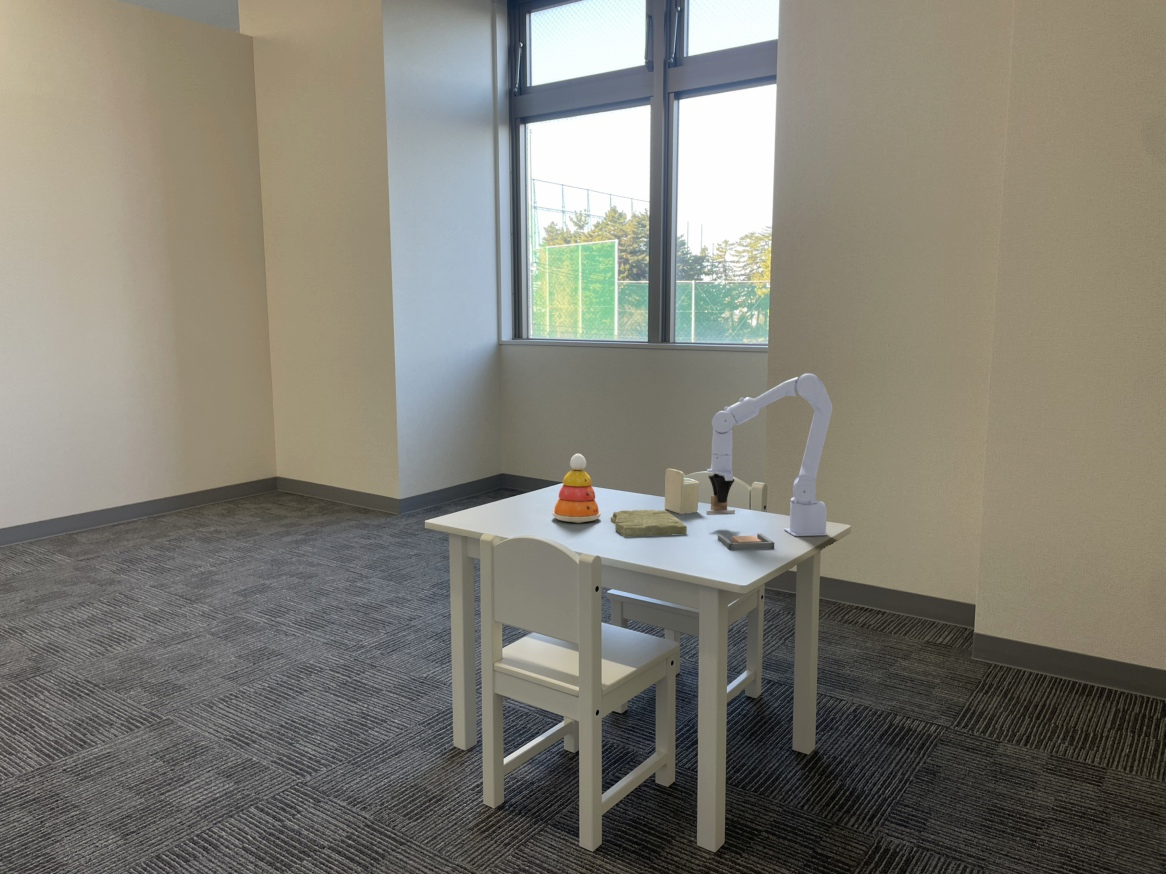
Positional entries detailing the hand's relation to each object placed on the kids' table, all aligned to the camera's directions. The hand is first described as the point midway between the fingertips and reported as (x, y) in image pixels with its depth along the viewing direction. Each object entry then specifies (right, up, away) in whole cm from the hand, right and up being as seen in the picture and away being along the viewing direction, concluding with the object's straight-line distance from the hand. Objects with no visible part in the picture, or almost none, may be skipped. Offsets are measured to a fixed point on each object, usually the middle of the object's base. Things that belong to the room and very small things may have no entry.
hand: (720, 501), depth 245 cm
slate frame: (+4, -10, -18) cm, 20 cm away
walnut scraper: (0, -3, 0) cm, 3 cm away
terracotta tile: (+4, -10, -17) cm, 21 cm away
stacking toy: (-41, -6, +10) cm, 43 cm away
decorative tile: (-21, -8, +1) cm, 23 cm away
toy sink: (-8, -5, +23) cm, 25 cm away
